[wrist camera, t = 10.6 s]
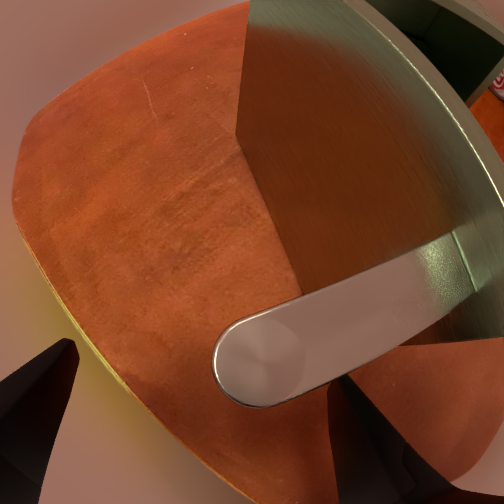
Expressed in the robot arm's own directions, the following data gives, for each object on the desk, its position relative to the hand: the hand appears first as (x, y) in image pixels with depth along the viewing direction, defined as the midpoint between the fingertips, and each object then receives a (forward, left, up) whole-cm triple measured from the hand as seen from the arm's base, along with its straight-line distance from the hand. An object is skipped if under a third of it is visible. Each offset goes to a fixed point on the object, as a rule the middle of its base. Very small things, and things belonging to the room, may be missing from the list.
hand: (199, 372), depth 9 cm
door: (+5, -6, -7) cm, 10 cm away
